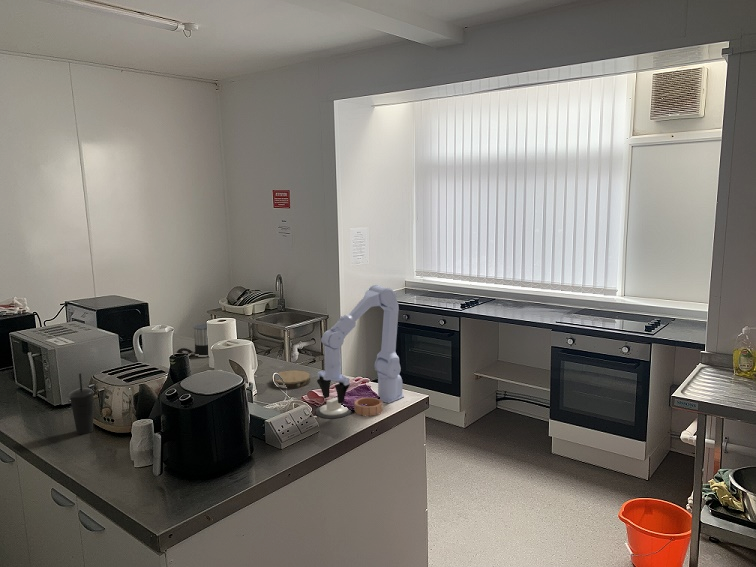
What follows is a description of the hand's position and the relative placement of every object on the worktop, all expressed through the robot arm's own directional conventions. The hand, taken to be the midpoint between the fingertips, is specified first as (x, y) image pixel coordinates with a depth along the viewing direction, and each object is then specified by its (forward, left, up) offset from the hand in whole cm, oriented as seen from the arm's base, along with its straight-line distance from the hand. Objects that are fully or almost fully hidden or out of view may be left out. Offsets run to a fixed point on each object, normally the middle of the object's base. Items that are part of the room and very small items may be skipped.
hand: (333, 400), depth 209 cm
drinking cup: (+67, -50, -5) cm, 84 cm away
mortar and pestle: (+17, -34, -5) cm, 38 cm away
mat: (0, 0, -4) cm, 4 cm away
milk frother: (-6, -103, -5) cm, 103 cm away
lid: (0, 0, -4) cm, 4 cm away
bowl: (-9, +9, -4) cm, 13 cm away
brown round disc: (-11, -37, -5) cm, 39 cm away
